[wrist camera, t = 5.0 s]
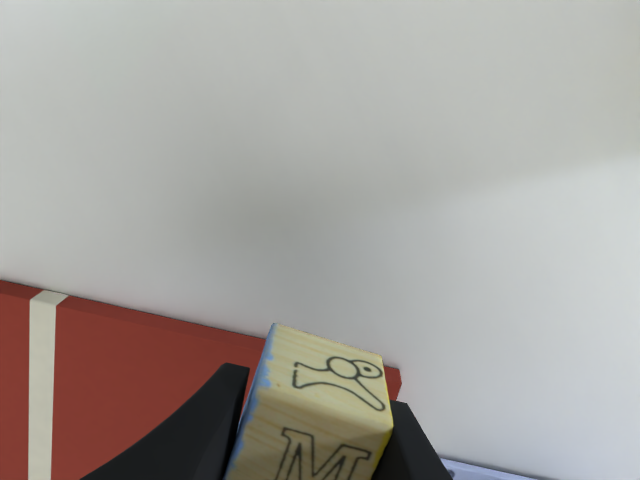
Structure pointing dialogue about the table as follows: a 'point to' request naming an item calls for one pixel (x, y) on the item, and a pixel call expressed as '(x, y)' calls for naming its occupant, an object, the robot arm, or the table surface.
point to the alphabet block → (312, 412)
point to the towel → (99, 378)
